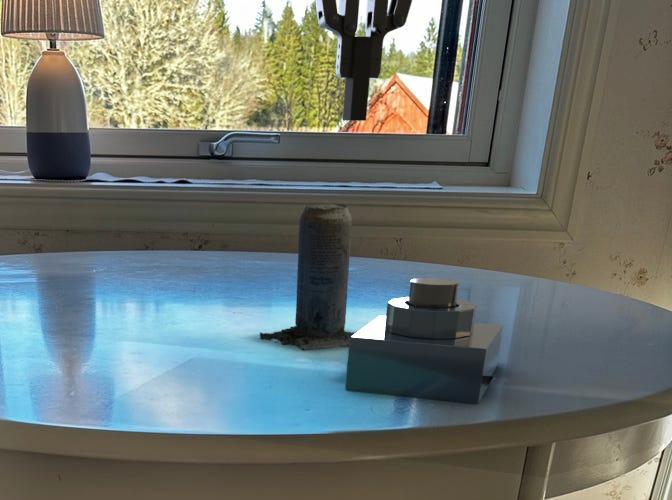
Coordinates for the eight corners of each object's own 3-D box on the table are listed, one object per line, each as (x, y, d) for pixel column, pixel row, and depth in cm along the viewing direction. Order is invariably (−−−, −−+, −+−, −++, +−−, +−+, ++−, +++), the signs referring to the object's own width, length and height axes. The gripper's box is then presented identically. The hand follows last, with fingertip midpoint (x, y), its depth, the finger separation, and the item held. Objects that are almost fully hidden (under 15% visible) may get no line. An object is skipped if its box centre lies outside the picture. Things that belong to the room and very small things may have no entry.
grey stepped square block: (495, 375, 78) (507, 298, 75) (477, 404, 70) (490, 319, 67) (374, 363, 81) (381, 289, 78) (344, 390, 73) (351, 309, 70)
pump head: (458, 307, 74) (462, 279, 73) (451, 315, 71) (455, 286, 70) (412, 304, 75) (415, 276, 74) (403, 311, 72) (406, 282, 71)
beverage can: (311, 362, 82) (321, 209, 76) (254, 346, 87) (259, 202, 81) (386, 350, 86) (401, 204, 80) (327, 336, 92) (337, 198, 86)
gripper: (441, -195, 81) (409, 120, 92) (291, -202, 80) (277, 119, 91) (474, -223, 75) (435, 121, 86) (311, -231, 73) (293, 120, 84)
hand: (354, 120), depth 88 cm, fingers closed
